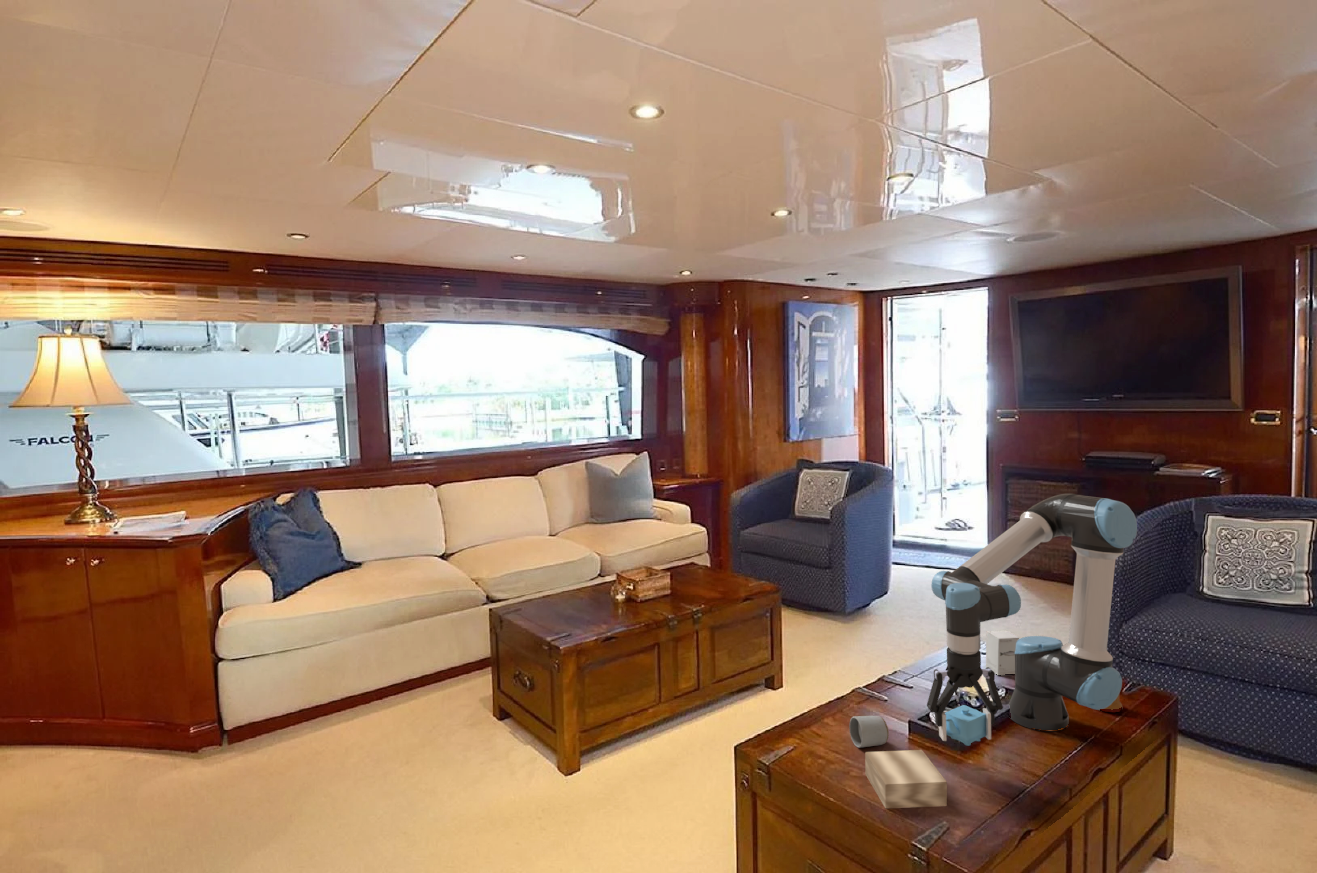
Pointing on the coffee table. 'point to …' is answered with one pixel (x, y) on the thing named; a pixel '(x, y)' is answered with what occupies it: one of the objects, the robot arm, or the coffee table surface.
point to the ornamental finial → (1115, 704)
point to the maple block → (905, 779)
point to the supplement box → (1001, 651)
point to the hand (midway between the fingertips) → (965, 737)
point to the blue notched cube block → (965, 724)
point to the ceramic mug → (868, 731)
